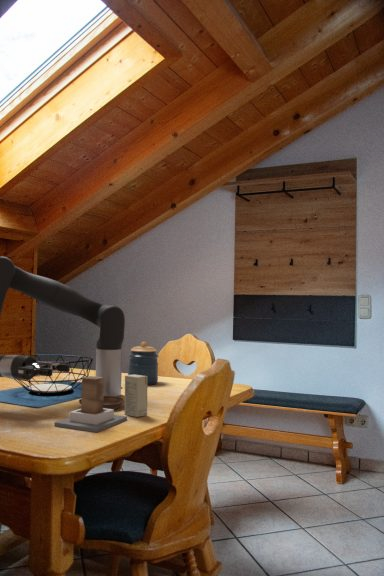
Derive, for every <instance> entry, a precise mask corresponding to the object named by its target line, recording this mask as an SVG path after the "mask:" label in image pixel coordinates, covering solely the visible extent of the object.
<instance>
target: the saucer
mask: <svg viewBox="0 0 384 576" xmlns="http://www.w3.org/2000/svg"><path fill="white" fill-rule="evenodd" d="M81 399H82V398H80V399H78V402H79V404H80V405H81ZM124 403H125V398H123V397H120V396H117V397H112V396H104V397H103V408H106V409H114V411H115V410H117V409H118V408H120V407H121V406H122V404H124Z"/></svg>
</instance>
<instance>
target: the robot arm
mask: <svg viewBox="0 0 384 576" xmlns="http://www.w3.org/2000/svg"><path fill="white" fill-rule="evenodd" d="M9 289H11V290H15V291H17V292H20V293H22V294H23V295H25V296H28V297H29V298H31V299H33V300H35V301H36V302H38V303H41V304H43V305H45V306H48V307H49V308H52V309H55V310H57V311H59V312H63V313H66V314H69V315H74V316H75V317H79V318H82V319H84V320H86V321H88V322H90V323H92V324H93V325H95V326H97V327H98V328H99V337H98V340H97V341H96V348H95V350H96V353H95V376H96V377H104V396H112V397H120V396H121V394H122V372H123V371H122V346H123V342H124V339H125V325H126V324H125V322H126V319H125V313H124V311H123V309H122V308H120V307H119V306H116V305H113V304H111V305H110V304H104V303H101V302H98V301H94V300H92V299H89V298H87V297H86V296H85V295H83V294H81V293H80V292H79V291H77V290H76V289H74V288H72V287H70V286H68V284H64V283H62V282H60V281H58V280H54V279H52V278H49V277H46V276H41V275H38V274H36V273H35V274H33V273H30V272H28V271H26V270H24V269H22V268H20V267H18V266H16V265H15V264H14V262H13V261H12V259H10V258H9V257H7V256H0V317H1V315H2V310H3V307H4V302H5V299H6V297H7V293H8V291H9ZM70 368H71V367H70V365H69V364H63V362H61V361H59V362H56V361H37V360H36V358H35V357H34V356H32V355H22V354H10V355H9V354H0V378H6V379H10V380H19V381H20V380H21V381H30V380H31V379H34V378H35V377H41V376H42V377H53V373H54V372H55V373H56V372H57V373H60V372H61V373H68V372H70Z"/></svg>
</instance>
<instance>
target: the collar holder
mask: <svg viewBox="0 0 384 576" xmlns="http://www.w3.org/2000/svg"><path fill="white" fill-rule="evenodd" d="M114 413H115V410H114V409H106V408H103V412H101V413H99V414H88V413H81V408H78V409H75V410H72V411H70V412H69V417H67V418H66V417H65V418H64V419H60V420H58V421H54V424H53V425H54V427H57V428H58V427H59V428H65V429H71V430H77V431H79V430H80V431H85V432H91V433H92V432H93V433H99V432H101V430H102V431H104V430H106V429H108V428H111V427H113V426H117V425H118V424H121V423H124V422H126V421H128V416H127V415H126V416H125V415H119V414H117V415H116V414H114Z"/></svg>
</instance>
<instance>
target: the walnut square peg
mask: <svg viewBox="0 0 384 576" xmlns="http://www.w3.org/2000/svg"><path fill="white" fill-rule="evenodd" d="M103 397H104V377H96V375H90V376H85V377H82V378H81V398H80V399H81V404H80V405H81V406H80V409H81V413H88V414H99V413H101V412H103Z"/></svg>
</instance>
